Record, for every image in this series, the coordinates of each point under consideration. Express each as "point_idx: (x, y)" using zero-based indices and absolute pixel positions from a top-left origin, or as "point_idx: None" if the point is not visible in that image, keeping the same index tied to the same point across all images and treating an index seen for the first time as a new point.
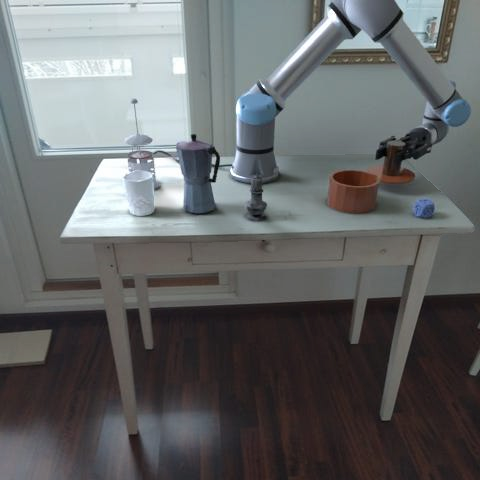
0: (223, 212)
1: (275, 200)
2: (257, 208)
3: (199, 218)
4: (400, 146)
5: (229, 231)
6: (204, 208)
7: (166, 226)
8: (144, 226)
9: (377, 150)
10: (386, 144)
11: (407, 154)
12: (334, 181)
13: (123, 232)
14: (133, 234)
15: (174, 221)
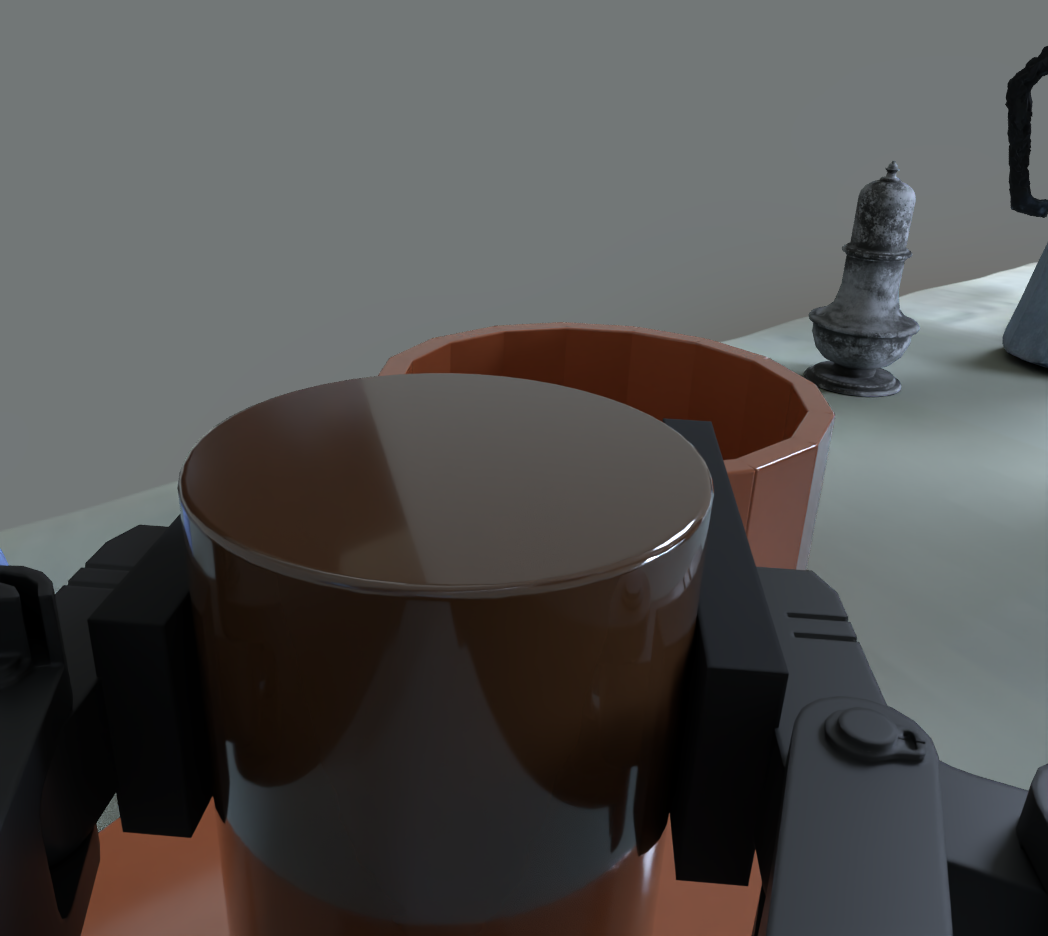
0: (980, 370)
1: (981, 475)
2: (819, 307)
3: (975, 338)
4: (291, 407)
5: (803, 326)
6: (1009, 324)
7: (972, 306)
8: (1010, 297)
9: (690, 421)
10: (837, 711)
11: (95, 557)
12: (679, 334)
13: (999, 281)
14: (970, 282)
15: (998, 318)
